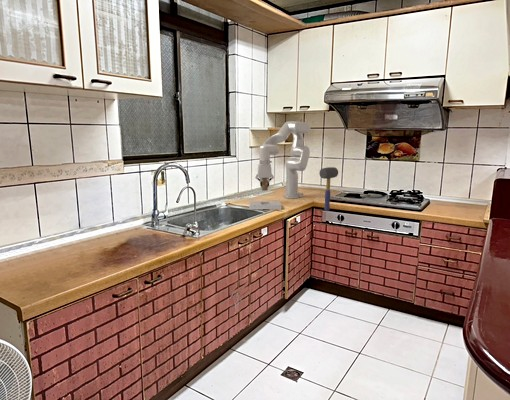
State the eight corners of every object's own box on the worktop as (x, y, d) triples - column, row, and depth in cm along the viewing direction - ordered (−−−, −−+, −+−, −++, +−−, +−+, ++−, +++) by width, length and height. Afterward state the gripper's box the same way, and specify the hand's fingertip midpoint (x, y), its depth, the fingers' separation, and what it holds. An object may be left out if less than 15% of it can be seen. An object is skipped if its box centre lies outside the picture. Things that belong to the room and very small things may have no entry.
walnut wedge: (267, 189, 270) (267, 177, 268) (267, 190, 266) (267, 178, 264) (261, 189, 269) (261, 177, 267) (262, 190, 266) (262, 178, 264)
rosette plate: (279, 205, 263) (279, 201, 262) (281, 209, 249) (281, 205, 248) (249, 205, 262) (249, 200, 261) (249, 209, 248) (249, 205, 247)
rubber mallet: (324, 213, 240) (327, 168, 234) (316, 211, 246) (318, 167, 240) (336, 210, 248) (339, 167, 242) (328, 208, 254) (330, 166, 248)
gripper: (275, 161, 267) (275, 186, 271) (253, 161, 266) (253, 186, 271) (276, 163, 260) (276, 187, 264) (253, 163, 259) (253, 188, 263)
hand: (264, 186), depth 267 cm, fingers closed on walnut wedge, 4 cm apart
